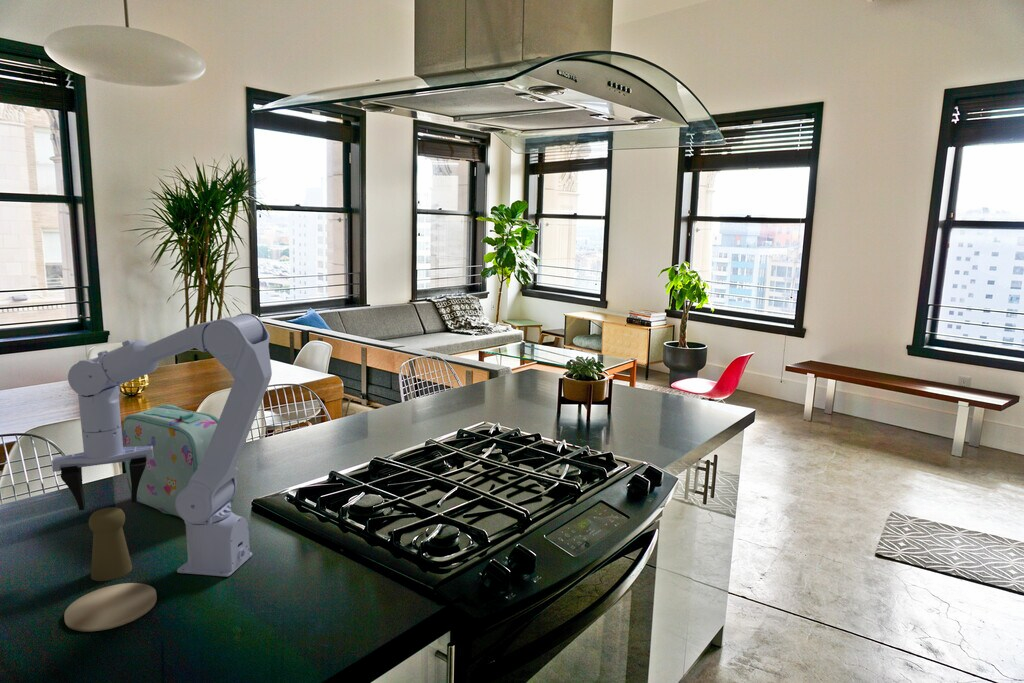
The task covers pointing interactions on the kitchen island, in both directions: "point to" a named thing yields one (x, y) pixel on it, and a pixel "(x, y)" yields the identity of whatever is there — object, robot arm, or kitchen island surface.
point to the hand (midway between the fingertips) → (108, 504)
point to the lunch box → (168, 451)
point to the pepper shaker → (109, 545)
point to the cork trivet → (110, 607)
